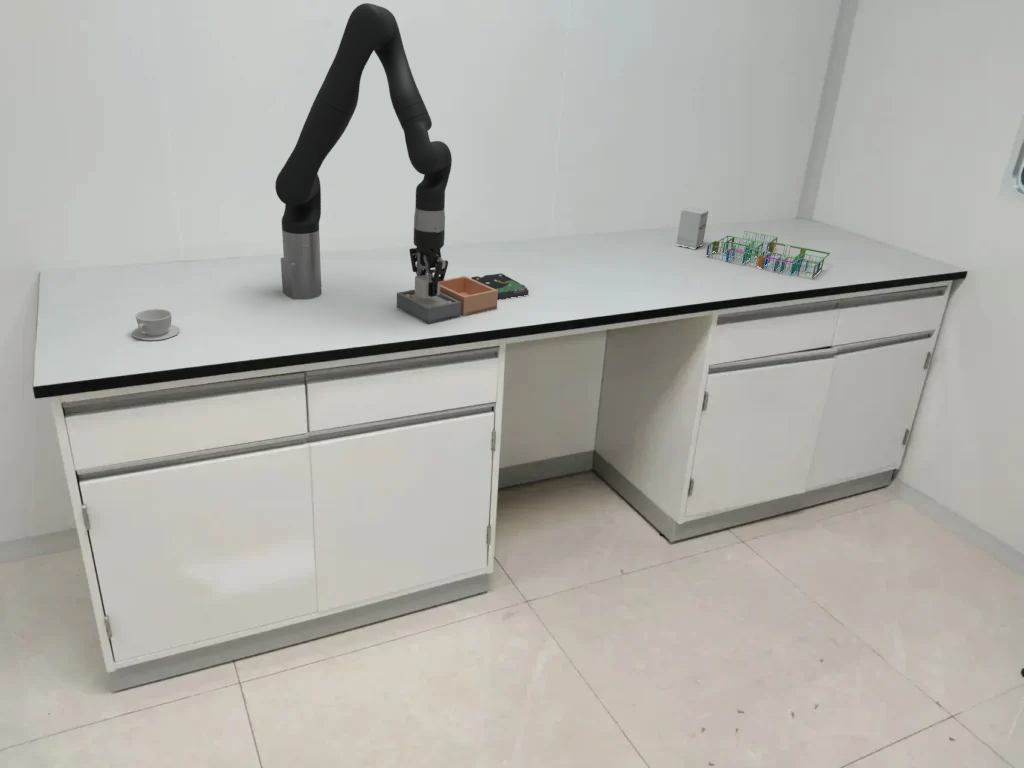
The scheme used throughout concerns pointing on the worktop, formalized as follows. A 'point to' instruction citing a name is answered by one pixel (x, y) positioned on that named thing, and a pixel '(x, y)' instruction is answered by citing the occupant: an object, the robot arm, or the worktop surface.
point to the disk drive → (503, 285)
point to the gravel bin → (429, 306)
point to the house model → (762, 258)
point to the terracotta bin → (470, 294)
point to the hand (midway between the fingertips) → (427, 292)
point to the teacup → (154, 325)
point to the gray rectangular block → (423, 286)
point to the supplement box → (692, 227)
